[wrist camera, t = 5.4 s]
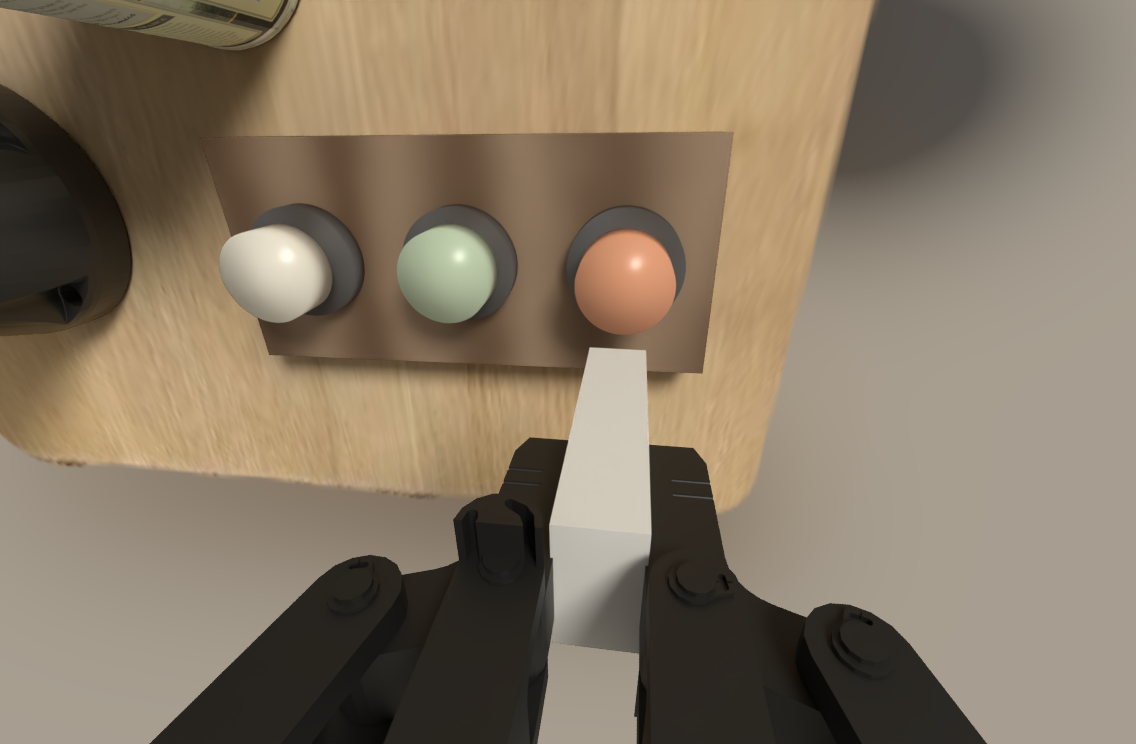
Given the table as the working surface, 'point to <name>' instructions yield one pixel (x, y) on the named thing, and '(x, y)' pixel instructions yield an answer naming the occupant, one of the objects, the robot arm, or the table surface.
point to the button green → (447, 272)
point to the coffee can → (176, 18)
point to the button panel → (483, 235)
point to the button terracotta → (625, 282)
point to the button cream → (275, 272)
